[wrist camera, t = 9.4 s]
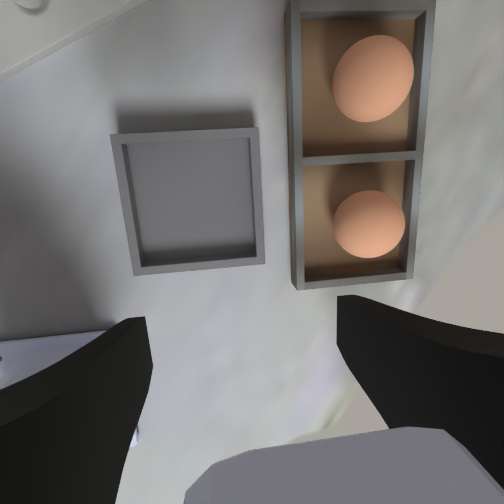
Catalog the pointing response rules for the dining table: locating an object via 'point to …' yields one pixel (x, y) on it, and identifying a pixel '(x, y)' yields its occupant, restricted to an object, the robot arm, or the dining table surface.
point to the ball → (373, 78)
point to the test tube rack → (49, 27)
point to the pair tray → (351, 136)
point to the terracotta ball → (368, 224)
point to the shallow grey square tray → (191, 199)
